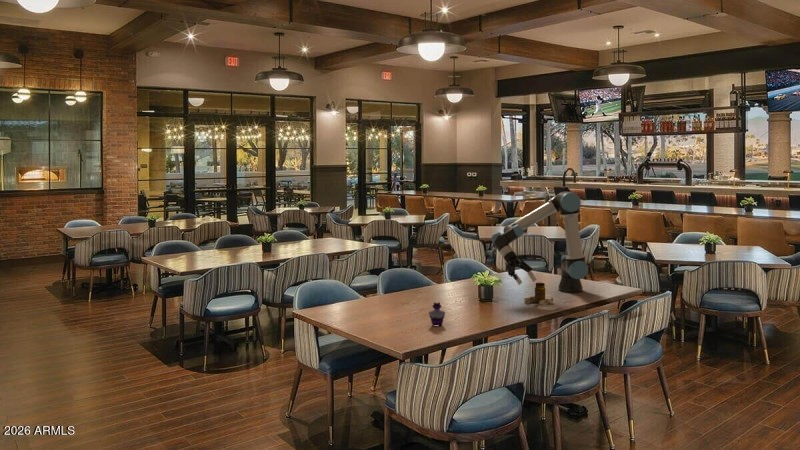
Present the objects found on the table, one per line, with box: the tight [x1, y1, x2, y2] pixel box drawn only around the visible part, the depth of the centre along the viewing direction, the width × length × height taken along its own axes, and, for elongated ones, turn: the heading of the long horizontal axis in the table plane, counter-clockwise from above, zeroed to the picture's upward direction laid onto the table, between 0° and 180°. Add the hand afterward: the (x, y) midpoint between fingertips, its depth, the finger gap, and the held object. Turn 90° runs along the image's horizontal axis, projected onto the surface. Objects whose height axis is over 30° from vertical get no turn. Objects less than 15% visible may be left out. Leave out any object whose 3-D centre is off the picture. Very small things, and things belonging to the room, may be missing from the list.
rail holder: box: [523, 295, 554, 306], centre depth 376 cm, size 12×12×3 cm
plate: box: [537, 304, 558, 311], centre depth 363 cm, size 11×11×1 cm
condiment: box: [530, 282, 546, 306], centre depth 376 cm, size 7×8×12 cm
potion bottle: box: [428, 301, 446, 326], centre depth 330 cm, size 9×9×12 cm
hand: (527, 282), depth 380 cm, fingers open, 13 cm apart
